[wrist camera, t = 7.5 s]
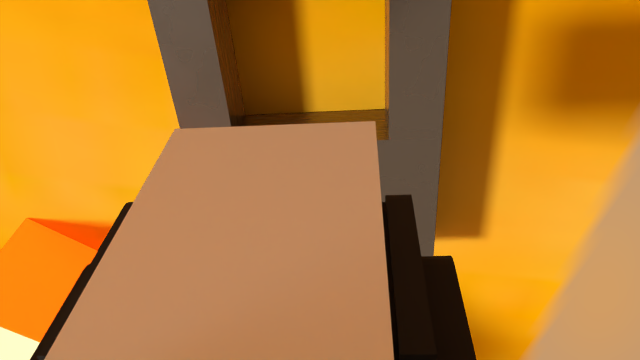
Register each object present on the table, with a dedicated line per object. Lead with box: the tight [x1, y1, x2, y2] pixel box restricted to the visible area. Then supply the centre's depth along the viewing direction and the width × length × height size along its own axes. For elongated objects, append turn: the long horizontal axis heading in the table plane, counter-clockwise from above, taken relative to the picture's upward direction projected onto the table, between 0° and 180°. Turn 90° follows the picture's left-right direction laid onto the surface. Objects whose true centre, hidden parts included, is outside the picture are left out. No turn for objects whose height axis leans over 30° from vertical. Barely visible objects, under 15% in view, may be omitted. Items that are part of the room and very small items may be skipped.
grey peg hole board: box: [148, 0, 452, 256], centre depth 20 cm, size 20×10×2 cm, turn 4°
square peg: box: [44, 121, 394, 360], centre depth 10 cm, size 4×4×8 cm
